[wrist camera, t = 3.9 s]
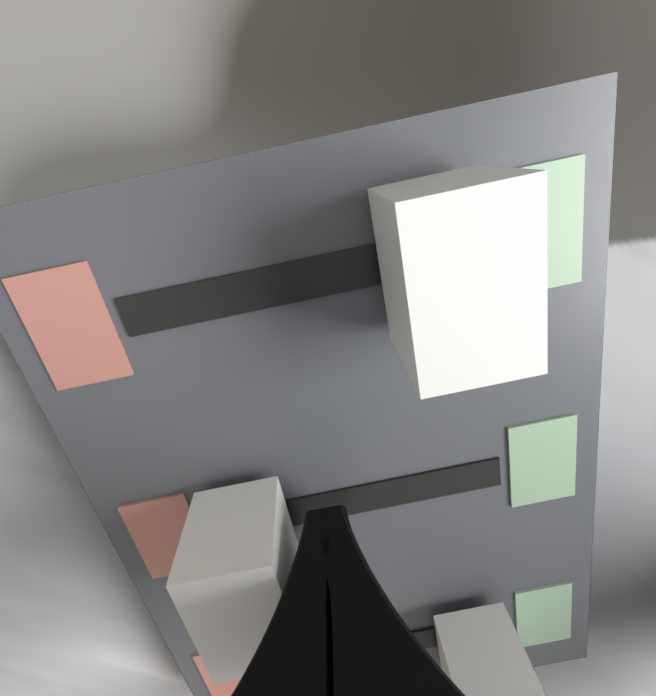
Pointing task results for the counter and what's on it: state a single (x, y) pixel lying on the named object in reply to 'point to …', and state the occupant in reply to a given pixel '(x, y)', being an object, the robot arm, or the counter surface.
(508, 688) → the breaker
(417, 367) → the block
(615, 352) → the counter surface
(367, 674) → the robot arm
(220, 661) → the block
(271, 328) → the breaker board
